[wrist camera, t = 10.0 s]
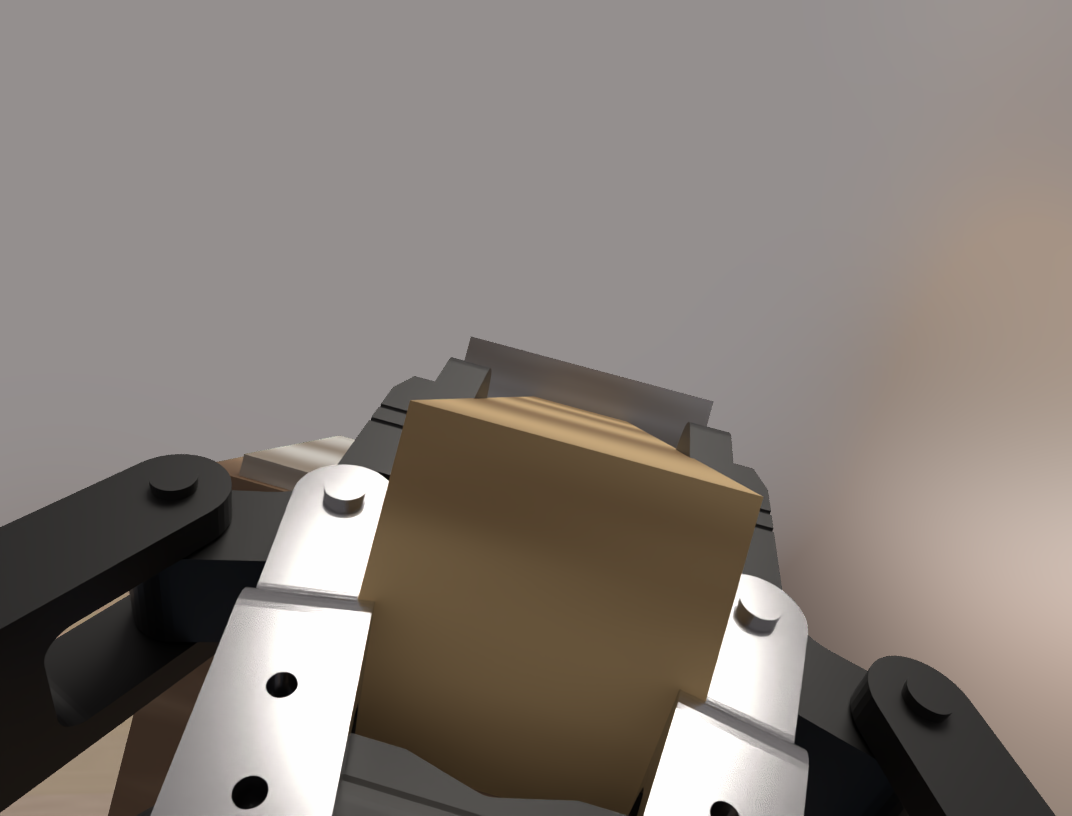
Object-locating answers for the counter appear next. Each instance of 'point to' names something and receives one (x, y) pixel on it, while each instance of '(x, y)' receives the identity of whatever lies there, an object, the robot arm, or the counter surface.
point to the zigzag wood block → (170, 711)
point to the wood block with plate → (548, 580)
